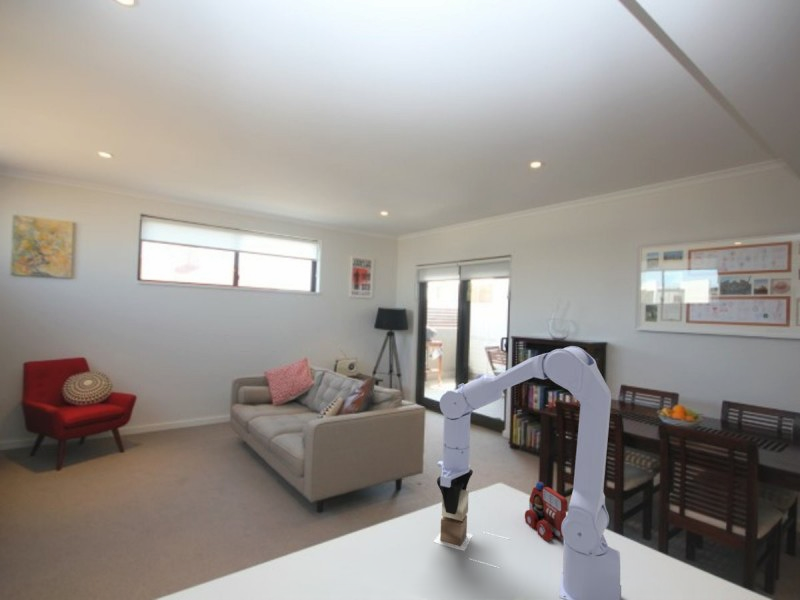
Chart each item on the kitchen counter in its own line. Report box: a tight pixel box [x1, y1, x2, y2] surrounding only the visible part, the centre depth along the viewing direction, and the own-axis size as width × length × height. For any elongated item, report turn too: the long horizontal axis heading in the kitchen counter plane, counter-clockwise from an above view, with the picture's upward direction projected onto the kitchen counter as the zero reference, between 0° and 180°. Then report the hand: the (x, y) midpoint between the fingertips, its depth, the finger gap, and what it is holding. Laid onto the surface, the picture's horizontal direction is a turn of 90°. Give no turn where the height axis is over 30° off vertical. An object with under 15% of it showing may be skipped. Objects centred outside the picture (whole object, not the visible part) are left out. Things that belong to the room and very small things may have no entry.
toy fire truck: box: [524, 481, 569, 542], centre depth 95 cm, size 7×12×10 cm, turn 15°
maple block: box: [441, 489, 470, 521], centre depth 90 cm, size 4×4×4 cm
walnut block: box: [440, 514, 468, 546], centre depth 90 cm, size 4×4×4 cm
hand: (454, 507), depth 90 cm, fingers closed on maple block, 4 cm apart
